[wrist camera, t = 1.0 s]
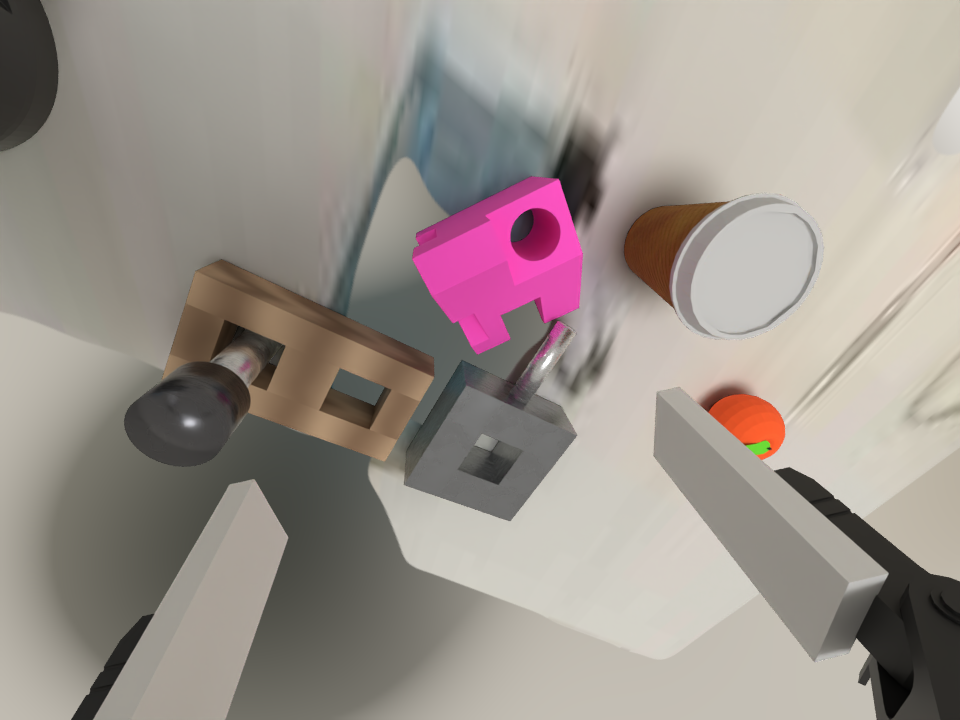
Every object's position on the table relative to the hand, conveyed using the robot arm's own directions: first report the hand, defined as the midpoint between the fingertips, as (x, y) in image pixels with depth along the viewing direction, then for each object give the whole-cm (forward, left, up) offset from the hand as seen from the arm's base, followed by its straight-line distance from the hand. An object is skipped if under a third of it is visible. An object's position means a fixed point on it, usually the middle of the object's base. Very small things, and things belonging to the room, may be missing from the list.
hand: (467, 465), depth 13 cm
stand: (-7, -12, -24) cm, 28 cm away
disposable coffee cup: (+15, +12, -24) cm, 31 cm away
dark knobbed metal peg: (-11, -12, -24) cm, 29 cm away
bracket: (+4, +3, -25) cm, 25 cm away
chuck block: (+11, -12, -24) cm, 29 cm away
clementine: (+34, +2, -24) cm, 42 cm away
